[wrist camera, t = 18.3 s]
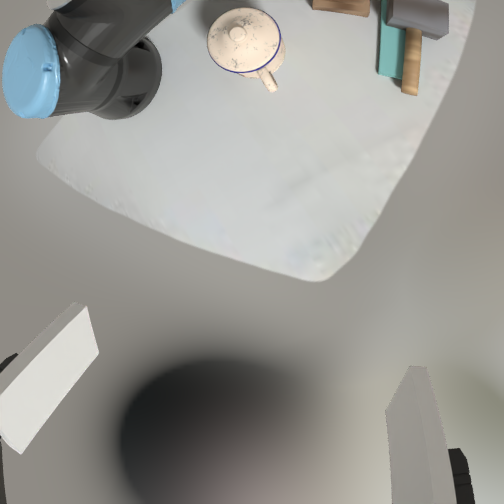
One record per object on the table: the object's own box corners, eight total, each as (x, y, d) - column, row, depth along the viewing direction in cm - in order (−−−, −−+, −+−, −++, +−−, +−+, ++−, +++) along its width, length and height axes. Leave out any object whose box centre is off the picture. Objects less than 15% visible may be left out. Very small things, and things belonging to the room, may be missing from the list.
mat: (378, 74, 38) (379, 73, 37) (381, -13, 31) (381, -14, 30) (416, 83, 37) (418, 82, 36) (418, -3, 30) (420, -5, 30)
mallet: (431, 101, 37) (444, 100, 32) (380, 87, 38) (388, 84, 33) (436, 12, 30) (448, 3, 26) (386, -3, 31) (393, -14, 27)
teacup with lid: (215, 42, 40) (185, 23, 29) (269, 15, 37) (254, -13, 26) (251, 107, 43) (230, 104, 33) (307, 81, 40) (304, 69, 30)
